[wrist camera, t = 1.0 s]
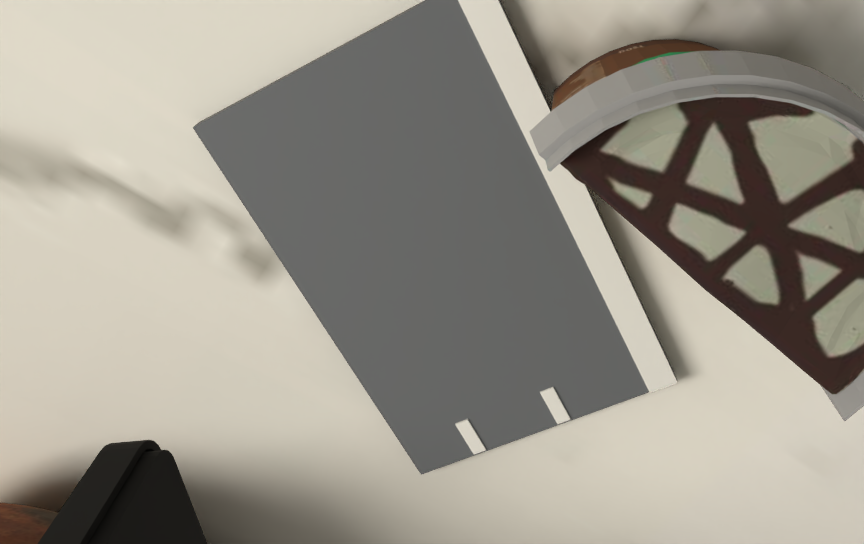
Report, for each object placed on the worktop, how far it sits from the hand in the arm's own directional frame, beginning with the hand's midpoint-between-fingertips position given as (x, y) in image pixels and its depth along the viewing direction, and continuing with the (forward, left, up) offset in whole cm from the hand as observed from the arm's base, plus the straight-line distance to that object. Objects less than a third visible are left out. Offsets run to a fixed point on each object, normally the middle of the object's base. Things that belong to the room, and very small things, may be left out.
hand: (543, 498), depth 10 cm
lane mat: (+5, +5, -21) cm, 23 cm away
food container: (-6, +4, -22) cm, 23 cm away
